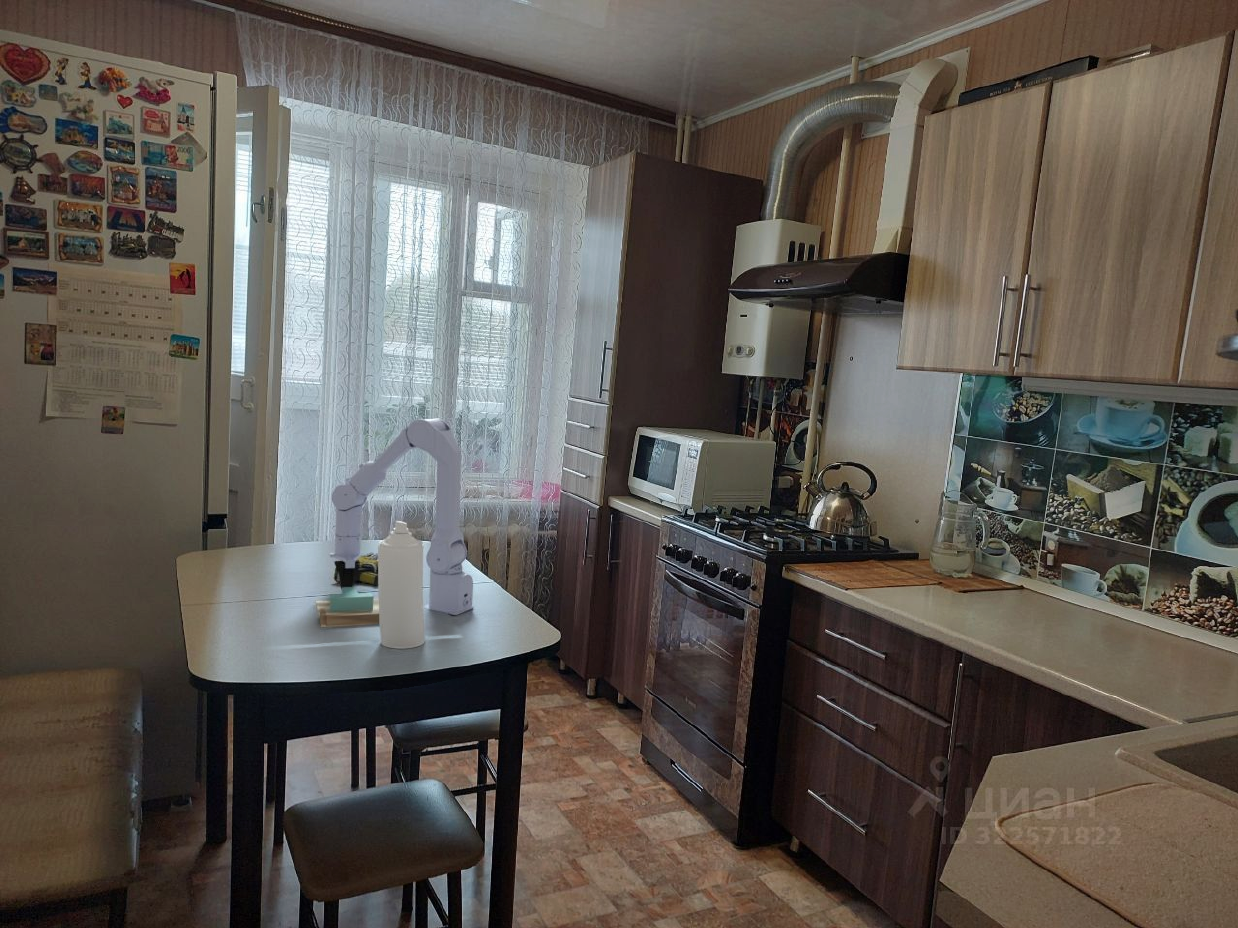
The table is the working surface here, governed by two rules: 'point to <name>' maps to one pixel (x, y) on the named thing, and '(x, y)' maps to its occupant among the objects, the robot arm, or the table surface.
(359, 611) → the board
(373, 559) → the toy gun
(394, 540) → the spray can
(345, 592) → the t block
